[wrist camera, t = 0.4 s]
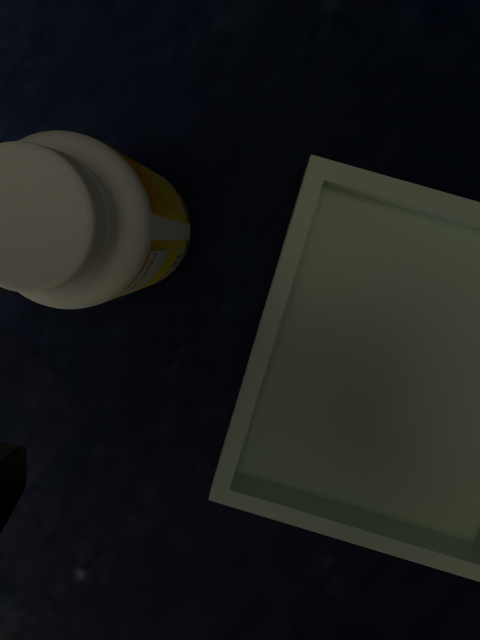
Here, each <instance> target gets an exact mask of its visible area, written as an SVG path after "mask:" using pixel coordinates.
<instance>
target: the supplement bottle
mask: <svg viewBox="0 0 480 640" xmlns="http://www.w3.org/2000/svg"><path fill="white" fill-rule="evenodd" d="M189 241H190V219H189V215H188V211H187V208H186V206H185V203H184V201H183V199H182V198H181V196H180V194H179V193H178V192H177V190H176V189H175V188H174V187H173V186H172V185H171V184H170V183H169V182H168V181H167V180H166V179H164V178H163V177H161V176H160V175H158V174H157V173H155V172H153V171H152V170H150V169H148V168H146V167H145V166H143V165H141V164H139V163H137V162H136V161H134V160H132V159H130V158H128V157H127V156H125V155H123V154H121V153H120V152H118V151H116V150H115V149H113V148H111V147H110V146H108V145H106V144H104V143H103V142H101V141H99V140H97V139H94V138H92V137H89V136H87V135H83V134H80V133H76V132H70V131H58V130H56V131H45V132H40V133H35V134H33V135H30V136H27V137H25V138H23V139H21V140H19V141H10V142H3V143H0V287H2V288H5V289H8V290H12V291H16V292H19V293H20V294H21V295H23V296H25V297H26V298H28V299H30V300H32V301H34V302H37V303H39V304H42V305H46V306H49V307H54V308H59V309H80V308H86V307H91V306H95V305H98V304H101V303H104V302H107V301H109V300H112V299H115V298H118V297H120V296H123V295H126V294H129V293H132V292H134V291H137V290H140V289H142V288H144V287H147V286H151V285H153V284H155V283H158V282H159V281H161V280H163V279H165V278H166V277H167V276H169V275H170V274H171V273H172V272H173V271H174V270H175V269H176V268H177V267H178V266H179V264H180V263H181V261H182V260H183V258H184V256H185V254H186V251H187V248H188V245H189Z"/></svg>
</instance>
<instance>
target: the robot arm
mask: <svg viewBox="0 0 480 640" xmlns="http://www.w3.org/2000/svg"><path fill="white" fill-rule="evenodd" d="M25 486H26V450H25V448H24V447H22V446H18V445H14V444H9V443H1V444H0V533H1V532H2V530H3V528H4V526H5V524H6V523H7V521H8V519H9V517H10V515H11V514H12V512H13V510H14V508H15V506H16V505H17V503H18V501H19V499H20V497H21V496H22V494H23V492H24V489H25Z"/></svg>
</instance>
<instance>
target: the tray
mask: <svg viewBox="0 0 480 640" xmlns="http://www.w3.org/2000/svg"><path fill="white" fill-rule="evenodd" d="M209 500H211V501H214V502H217V503H221V504H224V505H227V506H230V507H234V508H237V509H240V510H244V511H247V512H250V513H254V514H257V515H260V516H264V517H267V518H270V519H273V520H277V521H280V522H283V523H287V524H290V525H293V526H297V527H300V528H303V529H307V530H310V531H313V532H316V533H320V534H323V535H326V536H330V537H333V538H336V539H340V540H343V541H346V542H350V543H353V544H356V545H360V546H363V547H366V548H369V549H373V550H376V551H379V552H383V553H386V554H389V555H393V556H396V557H399V558H403V559H406V560H409V561H412V562H416V563H419V564H422V565H426V566H429V567H432V568H436V569H439V570H442V571H446V572H449V573H452V574H456V575H459V576H462V577H465V578H469V579H472V580H475V581H479V582H480V202H477V201H473V200H470V199H466V198H463V197H459V196H456V195H452V194H449V193H445V192H442V191H438V190H435V189H431V188H427V187H424V186H420V185H417V184H413V183H410V182H406V181H403V180H399V179H396V178H392V177H389V176H385V175H382V174H378V173H375V172H371V171H367V170H364V169H360V168H357V167H353V166H350V165H346V164H343V163H339V162H336V161H332V160H329V159H325V158H322V157H318V156H315V155H311V156H310V158H309V161H308V163H307V165H306V169H305V172H304V175H303V179H302V182H301V186H300V189H299V192H298V196H297V199H296V202H295V206H294V209H293V213H292V216H291V219H290V223H289V226H288V229H287V233H286V236H285V239H284V243H283V246H282V250H281V253H280V256H279V260H278V263H277V266H276V270H275V273H274V277H273V280H272V283H271V287H270V290H269V293H268V297H267V300H266V303H265V307H264V310H263V314H262V317H261V320H260V324H259V327H258V330H257V334H256V337H255V341H254V344H253V347H252V351H251V354H250V357H249V361H248V364H247V367H246V371H245V374H244V378H243V381H242V384H241V388H240V391H239V394H238V398H237V401H236V405H235V408H234V411H233V415H232V418H231V421H230V425H229V428H228V431H227V435H226V438H225V442H224V445H223V448H222V452H221V455H220V458H219V462H218V465H217V469H216V472H215V476H214V480H213V484H212V488H211V492H210V496H209Z"/></svg>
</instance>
